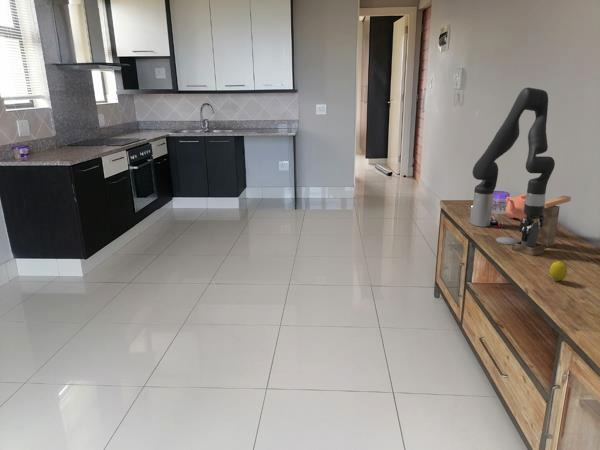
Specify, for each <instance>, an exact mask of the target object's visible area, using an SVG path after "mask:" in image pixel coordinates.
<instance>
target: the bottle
mask: <svg viewBox="0 0 600 450" xmlns="http://www.w3.org/2000/svg"><path fill="white" fill-rule="evenodd" d="M538 219H539V218H534V219H532V220H535V221H536V222H535V223H534V224H533V227H532V229H530V230H529V232H528V239H527V241H526V242H524V241H522V243H521V245H524V246H527V247H531V248H534V247H536V244H537V237H538V230H539V228H538V227H537V225H538V223H539V222H538ZM526 231H527V230H526Z"/></svg>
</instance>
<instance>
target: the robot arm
mask: <svg viewBox="0 0 600 450" xmlns="http://www.w3.org/2000/svg"><path fill="white" fill-rule="evenodd" d="M548 107H549V95H548V93H547V91H546V90H544V89H539V88H533V87H524V88H523V89H521V91H520V92H519V93H518V96H517V97H516V99H515V101H514V103H513V105H512V107H511V109H510V111H509V113H508V115H507V117H506V118H505V120H504V121H503V123H502V125H500V128H499V129H498V130H497V131H496V134H495V135H494V137H493V139H492V140H491V142H490V144H489V145H488V146H487V148H486V149H485V151H484V153H483V154H482V155H481V156H480V158H479V159H478V160H477V162H476V163H475V164H474V166H473V168H472V177H473V178H474V179H475V180H477V181H478V180H479V181H481V182H480V183H478V184H477V185H475V187H474V191H473V192H474V194H473V202H472V203H473V204H472V205H471V207H470V215H469V224H471V225H473V226H476V227H483V228H484V227H490V225H491V219H492V210H493V202H494V193H495V189H496V187H497V183H498V176H499V167H498V163H497V162H496V160H498V159H499V158H500V157H501V156H504V154H506V153H507V152H508V151H509V150H511V148H512V147H513V146H514V145H515V143H516V142H517V140H518V139H519V136H520V118H521V116H522V114H523V113H524V111H525V110H526V111H531V112H534V114H535V119H534V122H533V124H532V125H531V127H530V128H529V131H528V133H527V143H528V152H527V153H528V154H527V159H526V162H525V170H526V172H528V173H529V174H540V175H539V176H538V177H534V178H530V179H529V180H528V182H527V189H526V194H525V195H526V198H525V205H524V214H526V218H525V219H523V218H522V219H521V221H520V224H519V230H518V231H519V232H520V233H522V234H521V239H520V240H522V241H524V242H526V241H527V239H528V232H529V230H530V229H532V227H533V224H534V223H535V222H536V221H535V220H532V219H534V218H539V219H538V222H539V223H538V225H537V227H538V228H539V230H540V227H541V228H542V227H543V219H544V215H543V212H544V205H545V201H546V192H547V187H548V182H549V180H550V177H551V176H552V173H553V172H554V169H555V165H556V162H555V160H554V158H553V157H551V156H547V155H546V156H539V155H541V154H544V153H546V152H547V151H548V147H549V146H548V137H547V121H548V109H549V108H548ZM526 230H527V231H526ZM539 230H538V233H539Z"/></svg>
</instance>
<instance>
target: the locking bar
mask: <svg viewBox="0 0 600 450" xmlns="http://www.w3.org/2000/svg"><path fill="white" fill-rule="evenodd" d="M571 199H572V196H568V195H562V196H558V197H554V198H551V199H548V200H545V205H544V208H549V207H552V206H559V205H562V204H565V203H569V202H571Z"/></svg>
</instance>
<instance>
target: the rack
mask: <svg viewBox="0 0 600 450" xmlns="http://www.w3.org/2000/svg"><path fill="white" fill-rule="evenodd" d="M560 209H561V207H560V206H559V205H556V206H552V207H549V208H544V212H543V215H544V219H543V227H542V228H541V227H540V230H539V233H538V237H537V244H536V247H534V248H531V247H527V246H524V245H521V243H522V240H521V239H520V240H519V241H517V242H515V243H512V245H511V250H512V251H515V252H519V253H521V254H525V255H529V256H536V255H539V254H541V253H543V252H545V251H546V250H545V249H546V248H549V247H552V246H554V245H555V240H556V239H555V238H556V233H557V227H558V221H559V214H560Z"/></svg>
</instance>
